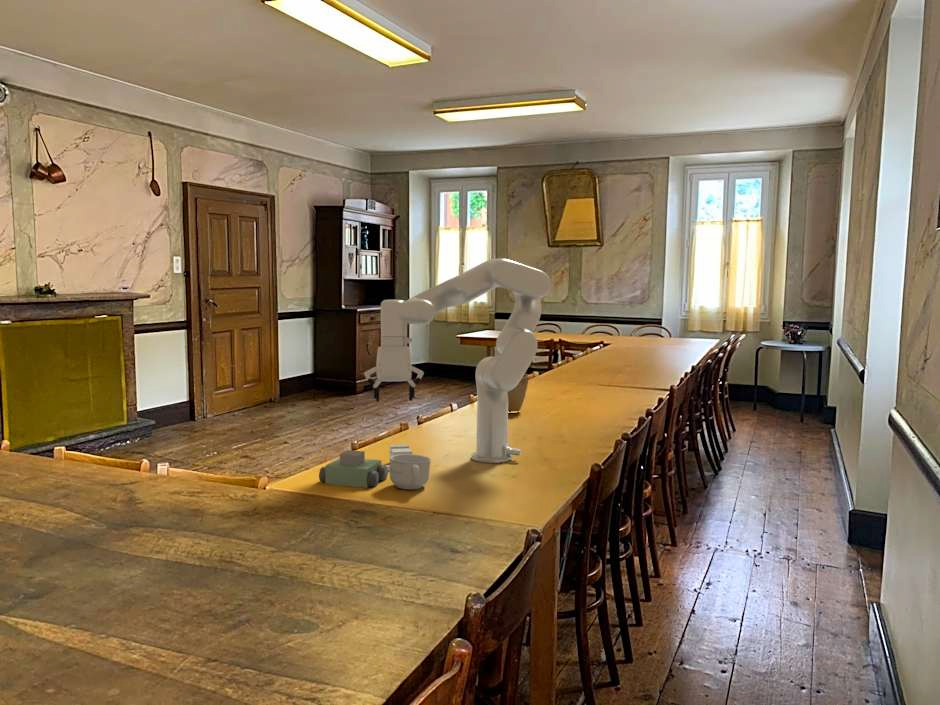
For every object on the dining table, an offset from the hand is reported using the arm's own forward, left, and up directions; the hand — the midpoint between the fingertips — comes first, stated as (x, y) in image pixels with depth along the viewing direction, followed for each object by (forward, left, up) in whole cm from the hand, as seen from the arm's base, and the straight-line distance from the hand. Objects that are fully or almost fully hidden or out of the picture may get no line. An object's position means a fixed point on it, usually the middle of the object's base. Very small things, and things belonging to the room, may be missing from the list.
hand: (394, 400), depth 211 cm
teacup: (-12, +20, -20) cm, 31 cm away
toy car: (+5, +14, -20) cm, 24 cm away
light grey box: (-1, -2, -20) cm, 20 cm away
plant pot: (-14, -98, -20) cm, 101 cm away
